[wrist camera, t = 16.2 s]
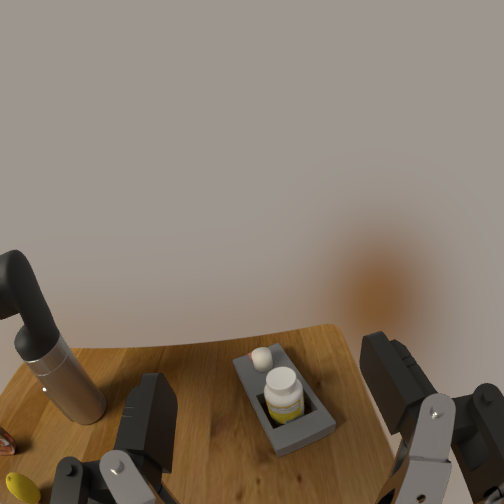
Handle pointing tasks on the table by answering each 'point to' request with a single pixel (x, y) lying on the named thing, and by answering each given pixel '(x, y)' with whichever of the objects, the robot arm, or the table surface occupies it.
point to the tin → (6, 443)
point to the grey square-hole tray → (254, 381)
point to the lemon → (23, 488)
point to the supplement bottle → (284, 396)
